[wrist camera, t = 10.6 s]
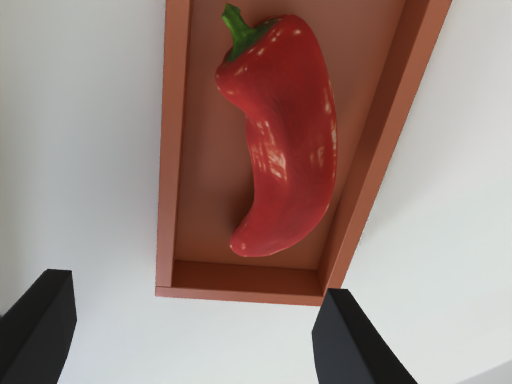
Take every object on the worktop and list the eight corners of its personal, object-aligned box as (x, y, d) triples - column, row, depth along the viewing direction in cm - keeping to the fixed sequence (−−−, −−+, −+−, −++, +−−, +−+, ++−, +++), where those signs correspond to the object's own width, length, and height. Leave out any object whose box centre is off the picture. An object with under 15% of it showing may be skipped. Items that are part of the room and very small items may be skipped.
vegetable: (150, 30, 13) (220, 271, 21) (325, 29, 11) (328, 290, 19) (205, -19, 16) (247, 207, 24) (348, -25, 14) (342, 219, 22)
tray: (324, 275, 25) (333, 307, 23) (160, 264, 24) (154, 297, 22) (444, -67, 15) (477, -63, 13) (178, -119, 14) (170, -122, 12)
